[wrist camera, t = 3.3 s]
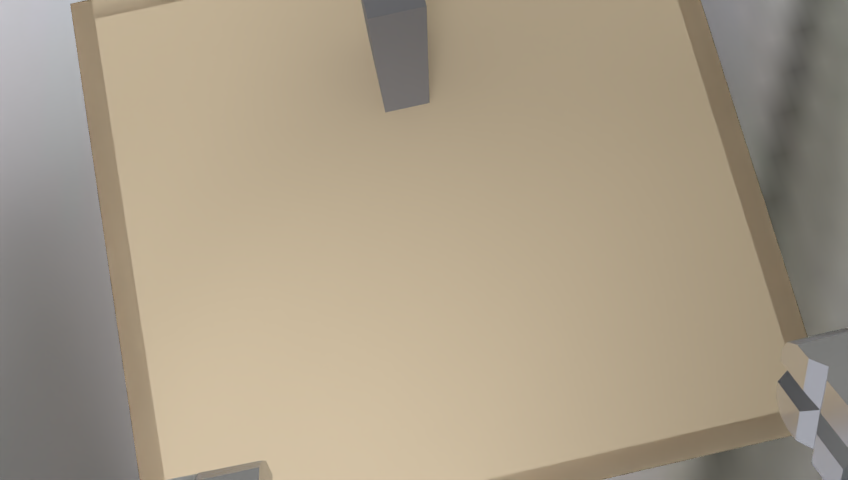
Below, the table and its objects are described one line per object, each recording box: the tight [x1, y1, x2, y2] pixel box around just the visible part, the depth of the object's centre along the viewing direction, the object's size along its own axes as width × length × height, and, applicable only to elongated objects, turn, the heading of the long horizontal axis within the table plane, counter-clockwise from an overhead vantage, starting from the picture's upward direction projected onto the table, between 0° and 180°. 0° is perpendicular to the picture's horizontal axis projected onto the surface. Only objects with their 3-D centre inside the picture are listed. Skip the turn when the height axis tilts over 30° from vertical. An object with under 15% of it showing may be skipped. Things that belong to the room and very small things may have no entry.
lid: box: [70, 0, 808, 480], centre depth 24 cm, size 20×22×9 cm
